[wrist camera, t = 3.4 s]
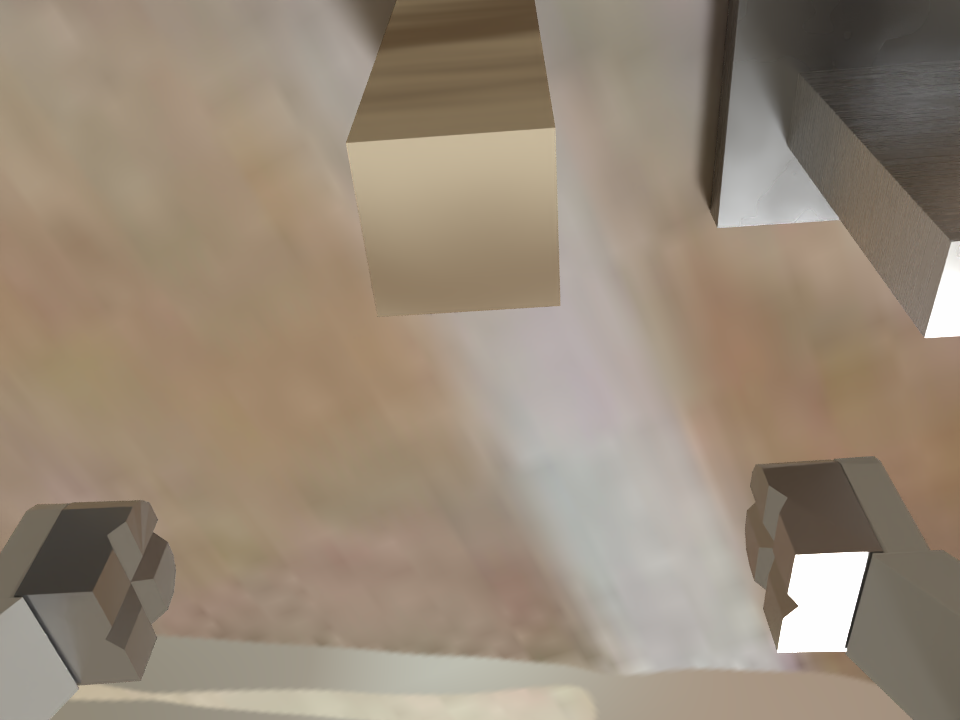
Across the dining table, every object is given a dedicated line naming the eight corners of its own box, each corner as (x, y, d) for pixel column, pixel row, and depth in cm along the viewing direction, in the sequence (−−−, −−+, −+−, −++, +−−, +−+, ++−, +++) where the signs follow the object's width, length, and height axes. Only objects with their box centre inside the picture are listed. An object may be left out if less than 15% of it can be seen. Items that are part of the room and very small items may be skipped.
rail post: (400, -10, 26) (346, 143, 16) (530, -21, 26) (555, 127, 16) (416, 118, 28) (377, 317, 19) (536, 108, 28) (560, 305, 18)
